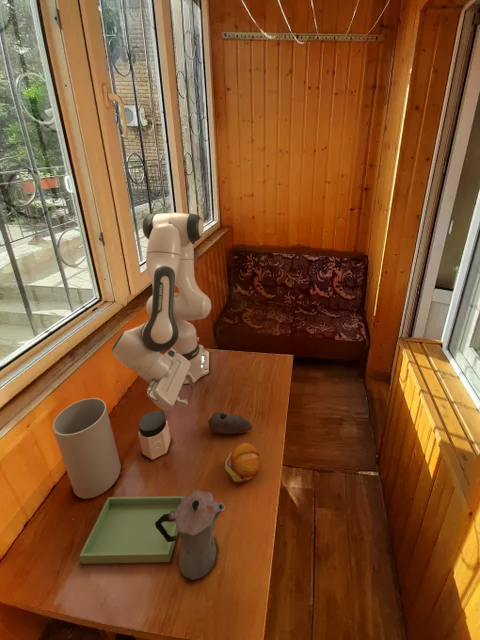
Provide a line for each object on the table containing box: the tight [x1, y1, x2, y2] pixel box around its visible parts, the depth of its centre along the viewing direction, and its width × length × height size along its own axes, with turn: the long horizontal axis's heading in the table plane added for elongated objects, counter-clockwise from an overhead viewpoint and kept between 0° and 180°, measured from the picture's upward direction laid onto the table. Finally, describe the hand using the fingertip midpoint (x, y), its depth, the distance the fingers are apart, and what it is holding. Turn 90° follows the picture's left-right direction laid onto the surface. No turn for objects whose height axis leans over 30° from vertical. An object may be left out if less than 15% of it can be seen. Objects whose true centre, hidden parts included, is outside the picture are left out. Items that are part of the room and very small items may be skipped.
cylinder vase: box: [52, 397, 122, 500], centre depth 90 cm, size 12×12×25 cm
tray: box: [78, 495, 185, 565], centre depth 81 cm, size 13×21×3 cm, turn 91°
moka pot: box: [155, 489, 226, 581], centre depth 73 cm, size 10×15×20 cm, turn 106°
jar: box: [137, 410, 172, 461], centre depth 102 cm, size 9×8×12 cm
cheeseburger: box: [224, 442, 261, 484], centre depth 96 cm, size 10×11×10 cm
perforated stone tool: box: [207, 412, 253, 435], centre depth 109 cm, size 15×5×7 cm, turn 85°
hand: (191, 393), depth 104 cm, fingers open, 8 cm apart
